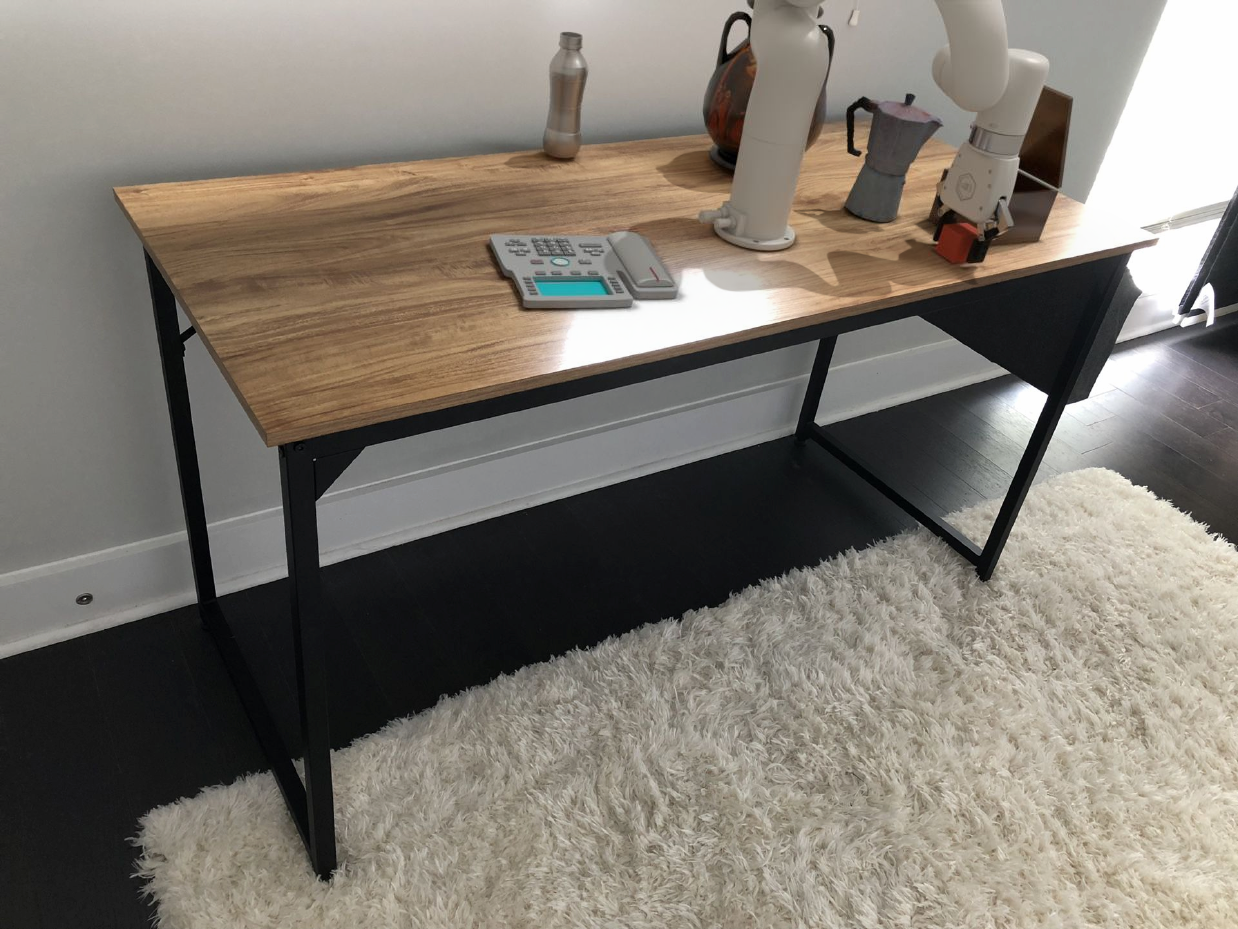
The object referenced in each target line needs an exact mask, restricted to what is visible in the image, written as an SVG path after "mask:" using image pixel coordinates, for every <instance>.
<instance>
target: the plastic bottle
mask: <svg viewBox="0 0 1238 929" xmlns="http://www.w3.org/2000/svg"><path fill="white" fill-rule="evenodd" d="M558 46H559V49H558V50H557V52H556V53H555V54H554V56H553V57H552V59H551V60H550V63H549V65H548V66H549V67H548V72H549V74H548V77H549V105H548V113H547V118H546V125H545V128H544V131H543V137H542V147H543V150H544V152H545V154H546V155H549V156H551V157H554V158H558V159H571V158H574V157H576V156H577V155H578V154H579V152H580V150H581V146H582V130H581V120H582V119H581V117H582V114H581V112H582V104H583V99H584V93H585V88H586V86H587V85H586V84H587V80H588V76H589V64H588V62H587V60H586V57H585V56H584V55H583V53H582V51H581V50H582V49H583V47H584V45H583V35H582V34H581V33H578V32H573V31H562V32H560V34H559V41H558Z"/></svg>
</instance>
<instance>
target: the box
mask: <svg viewBox="0 0 1238 929" xmlns="http://www.w3.org/2000/svg"><path fill="white" fill-rule="evenodd" d="M949 170H950V167H949V168H944V169H943V171H942V175H941V177H940V181H939V182H941V181H943V180H946V177H947V175H948V172H949ZM1058 193H1059V190H1058V189H1056V188H1054V187H1052V186H1051V185H1049V184H1047V183H1045V182H1043V181H1041V180H1039V179H1037V178H1035V177H1033V176H1031V175H1029V174H1028V173H1026V172H1024V171H1022V170H1020V169H1019V170H1018V172H1017V177H1016V181H1015V185H1014V189H1013V192H1012V195H1011V199H1010V202H1009V205H1008V209H1009V212H1010V215H1011V218H1012V220H1013V223H1014V225H1013V227H1012V228H1011V229H1009V230H1008V231H1006V232H1004V234H1003V235H1001V236H999V237H997V238H996V239H995V240H991V243H990V245H989V247H992V246H1004V245H1013V244H1023V243H1025V244H1026V243H1034V242H1035V243H1036V242H1039V241H1040V239H1041V237H1042V234H1043V232H1044V229H1045V227H1046V224H1047V222H1048V219H1049V217H1050V214H1051V211H1052V208H1053V206H1054V204H1055V201H1056V198H1057V196H1058ZM937 199H938V195H937V192H936V193H935V196H934V199H933V203H932V205H931V209H930V212H929V214H928V217H927V219H928V220H929V221H931V222H932V223H934V224H935V225H937V224H938V221H939V218H940V216H939V215H938V210H939V205H938V201H937ZM954 216H956V217H957V221H956V224H958V223H968V224H970V225H971V226H973V227H975V228H976V229H977V223H975V222H973V221H971V220H969V219H967V218H966V217H964V216H962V215H961V214H959V213H956V214H955V215H954ZM996 222H997V225H998V224H999V221H996ZM987 230H988V223H986V231H987Z"/></svg>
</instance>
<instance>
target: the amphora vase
mask: <svg viewBox="0 0 1238 929" xmlns="http://www.w3.org/2000/svg"><path fill="white" fill-rule="evenodd" d="M754 2H755V0H746V4H747V6H748V8H750V9H751V10H753V9H754ZM824 13H825V10H824V9H823V7H822V6H821V4H820V5H819V10H818V16H817V20H819V19H820V18H822V17H823V15H824ZM737 21H744V22H745V23H746V25H747V37H745V38H744V39H743V40H742V41H741V42H739V44H737V45H736V46H735V47H734V48H733V49H732V50H730V52H729V53H728V51H727V50H728V39H729V35H730V32H731V29H732V27H733V25H734V24H735V22H737ZM751 23H752V16H750V14H749V13H747V12H745V11H739V10H738V11H735V12H733V13H731V14H730V16H729V17H728V18H727V20H725V23H724V26H723V30H722V33H721V37H720V42H719V47H718V52H717V59H716V65H715V69H714V71H713V73H712V74H711V77H710V79H709V81H708V84H707V88H706V89H705V93H704V96H703V102H702V110H701V111H702V116H703V122H704V127H705V128H706V131H707V133H708V136H709V137H710V139H711V141H712V142H713V143H714V144H713V145H712V146H711V148H710V149H709V151H708V158H709V160H710V162H711V163H712V164H713V165H714V166H715V167H716V168H718V169H719V170H720V171H722V172H723V173H727V174H728V175H731V176H734V173H735V168H736V163H737V158H738V153H739V148H740V143H741V137H742V132H743V125H744V120H745V115H746V111H747V106H748V102H749V98H750V94H751V91H752V87H753V84H754V80H755V76H756V71H757V62H756V60H755V58H754V56H753V53H752V50H751V44H750V33H751ZM817 25H818V26H819V28H820V29H821V30H822V32H823V34H824V36H825V37H826V40H827V44H828V49H829V64H828V70H827V74H826V78H825V81H824V84H823V86H822V89H821V92H820V95H819V97H818V100H817V103H816V107H815V110H814V114H813V117H812V121H811V125H810V129H809V134H808V138H807V143H806V148H805V152H804V154H805V153H807V152H808V151H809V150H810V149H811V148H812V147H813V146H814V145H815V144H816V142H817V140H818V139H819V137H820V136H821V134H822V132H823V128H824V125H825V120H826V118H827V106H828V98H827V96H828V95H827V85H828V80H829V76H830V71H831V68H832V62H833V58H834V52H835V45H836V38H835V34H834V30H833V29H832V28H831V27H830V26H828V25H827V24H817Z"/></svg>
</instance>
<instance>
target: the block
mask: <svg viewBox="0 0 1238 929" xmlns="http://www.w3.org/2000/svg"><path fill="white" fill-rule="evenodd" d="M974 238H978V233H977V229H976V228H975V227H973V226H971V225H970V224H968V223H958V224H946V225H944V226H943V229H942V232H941V235H940V238H939V241H938V242H937V244H936V247H935V250H934V251H935V253H937V254H939V255H940V256H942V257H943V258H945V259H946V260H948V261H949V262H951V263H952V264H956V263H965V262H966V259H967V256H968V253H969V250H970V247H971V244H972V242H973V239H974ZM966 263H967V262H966Z"/></svg>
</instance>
